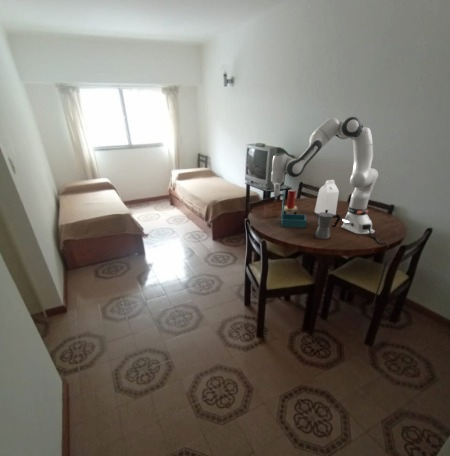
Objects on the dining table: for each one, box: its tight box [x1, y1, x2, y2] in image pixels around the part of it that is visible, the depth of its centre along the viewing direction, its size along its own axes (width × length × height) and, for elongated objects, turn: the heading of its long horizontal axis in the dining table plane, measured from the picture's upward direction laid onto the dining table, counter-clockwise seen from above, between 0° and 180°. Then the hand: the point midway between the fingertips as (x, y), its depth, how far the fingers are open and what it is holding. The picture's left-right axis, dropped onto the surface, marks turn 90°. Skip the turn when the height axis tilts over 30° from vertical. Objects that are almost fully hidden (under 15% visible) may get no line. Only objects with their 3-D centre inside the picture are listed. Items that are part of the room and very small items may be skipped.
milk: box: [314, 179, 340, 215], centre depth 216 cm, size 12×12×26 cm
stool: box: [283, 205, 299, 214], centre depth 212 cm, size 10×10×8 cm
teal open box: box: [281, 213, 307, 228], centre depth 199 cm, size 17×13×6 cm
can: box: [286, 189, 297, 209], centre depth 207 cm, size 6×6×13 cm
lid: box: [277, 189, 286, 220], centre depth 195 cm, size 17×13×5 cm
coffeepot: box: [314, 210, 341, 240], centre depth 175 cm, size 15×9×18 cm, turn 68°
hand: (276, 198), depth 193 cm, fingers closed, pressing on lid
